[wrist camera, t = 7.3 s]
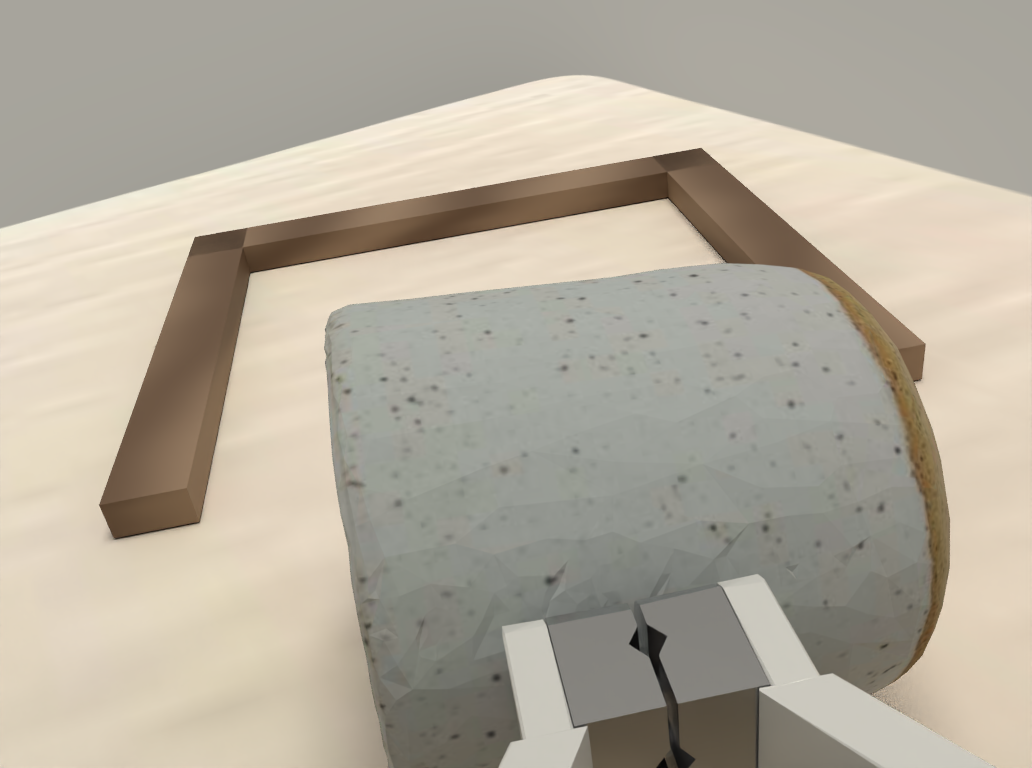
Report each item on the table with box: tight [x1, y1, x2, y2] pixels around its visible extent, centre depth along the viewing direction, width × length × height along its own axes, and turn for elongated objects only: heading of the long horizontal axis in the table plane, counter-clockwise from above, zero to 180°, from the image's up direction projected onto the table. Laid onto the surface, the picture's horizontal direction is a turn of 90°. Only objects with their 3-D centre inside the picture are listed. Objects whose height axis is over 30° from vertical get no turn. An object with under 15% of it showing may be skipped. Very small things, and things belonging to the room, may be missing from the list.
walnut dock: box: [99, 148, 925, 538], centre depth 30 cm, size 20×17×1 cm
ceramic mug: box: [324, 263, 950, 768], centre depth 17 cm, size 11×8×8 cm
